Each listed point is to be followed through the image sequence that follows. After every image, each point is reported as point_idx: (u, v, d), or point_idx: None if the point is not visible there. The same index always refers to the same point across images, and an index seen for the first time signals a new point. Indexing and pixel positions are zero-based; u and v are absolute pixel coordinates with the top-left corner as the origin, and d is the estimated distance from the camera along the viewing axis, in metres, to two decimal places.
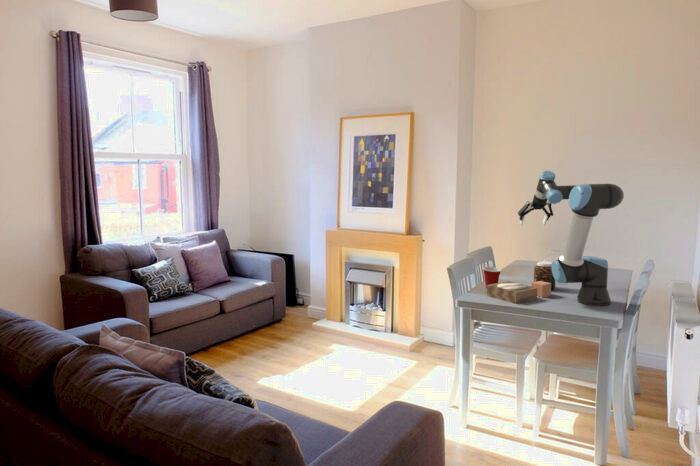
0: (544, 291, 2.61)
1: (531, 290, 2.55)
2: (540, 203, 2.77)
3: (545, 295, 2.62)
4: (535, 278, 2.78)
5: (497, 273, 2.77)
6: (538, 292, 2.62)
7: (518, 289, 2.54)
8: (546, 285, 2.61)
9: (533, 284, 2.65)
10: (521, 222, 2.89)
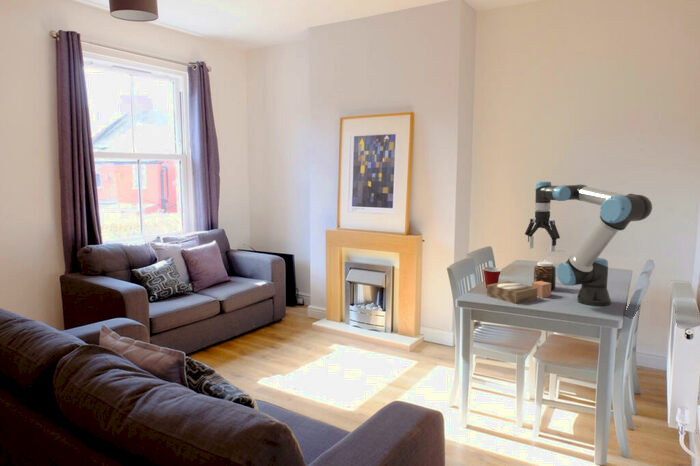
0: (544, 291, 2.61)
1: (531, 290, 2.55)
2: (536, 216, 2.60)
3: (545, 295, 2.62)
4: (535, 278, 2.78)
5: (497, 273, 2.77)
6: (538, 292, 2.62)
7: (518, 289, 2.54)
8: (546, 285, 2.61)
9: (533, 284, 2.65)
10: (529, 244, 2.69)
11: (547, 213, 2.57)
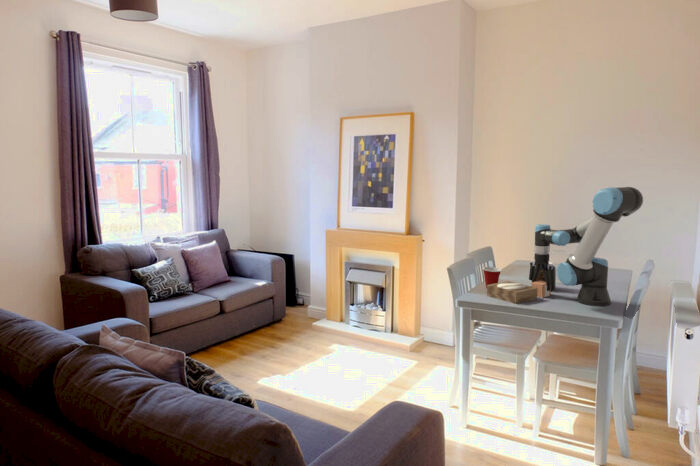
0: (544, 291, 2.61)
1: (531, 290, 2.55)
2: (535, 258, 2.62)
3: None
4: None
5: (497, 273, 2.77)
6: (538, 292, 2.62)
7: (518, 289, 2.54)
8: None
9: (533, 284, 2.65)
10: None
11: (546, 256, 2.59)
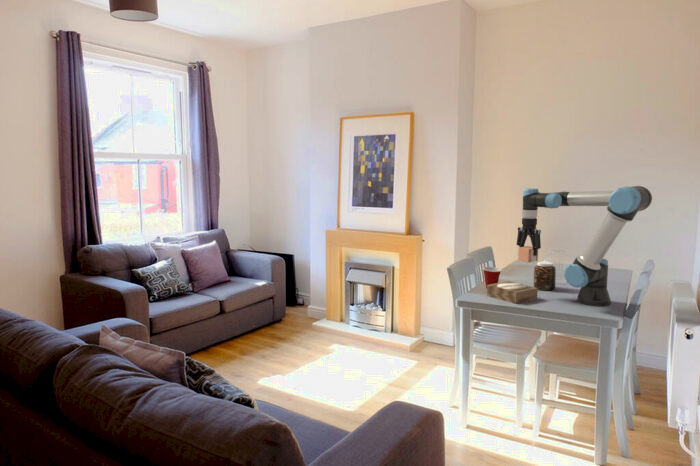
0: (530, 255, 2.58)
1: (531, 290, 2.55)
2: (523, 223, 2.59)
3: None
4: (535, 278, 2.78)
5: (497, 273, 2.77)
6: (524, 257, 2.60)
7: (518, 289, 2.54)
8: None
9: (520, 249, 2.62)
10: None
11: (533, 220, 2.56)
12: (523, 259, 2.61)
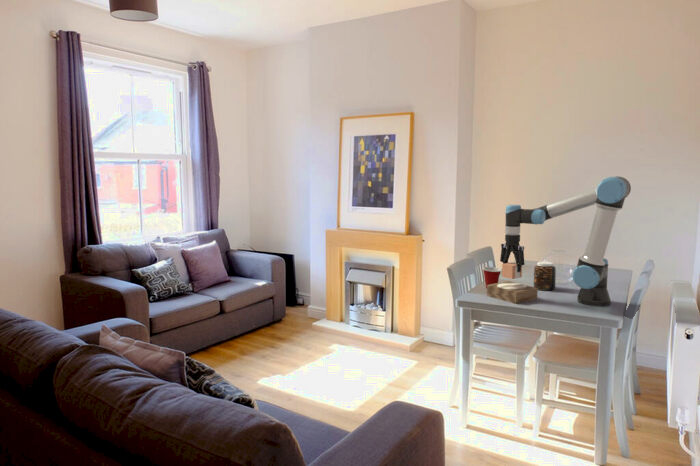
0: (514, 272, 2.57)
1: (531, 290, 2.55)
2: (506, 239, 2.58)
3: None
4: (535, 278, 2.78)
5: (497, 273, 2.77)
6: (508, 273, 2.58)
7: (518, 289, 2.54)
8: None
9: (504, 265, 2.61)
10: None
11: (517, 237, 2.55)
12: (507, 276, 2.59)
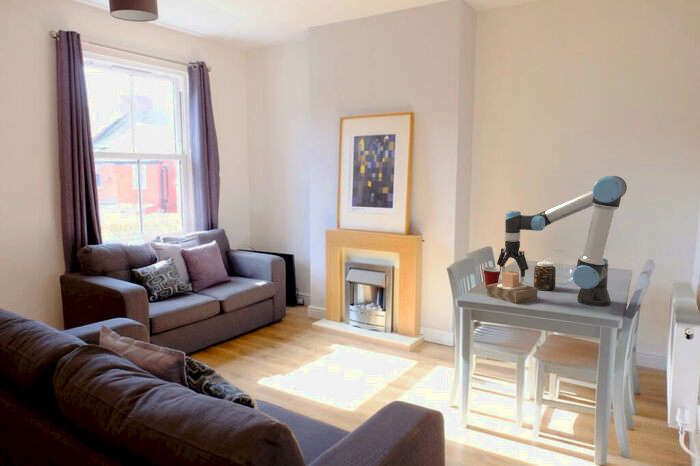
0: (514, 281, 2.57)
1: (531, 290, 2.55)
2: (506, 245, 2.58)
3: (516, 285, 2.58)
4: (535, 278, 2.78)
5: (497, 273, 2.77)
6: (509, 282, 2.59)
7: (518, 289, 2.54)
8: (517, 275, 2.58)
9: (504, 274, 2.61)
10: (501, 274, 2.66)
11: (517, 243, 2.55)
12: (507, 285, 2.60)
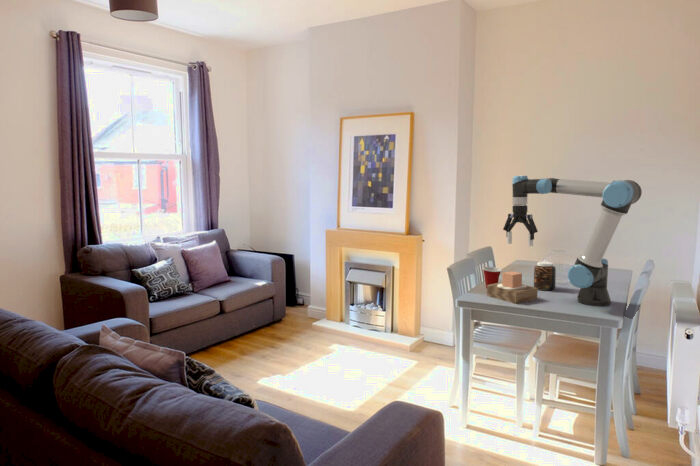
0: (514, 281, 2.57)
1: (531, 290, 2.55)
2: (514, 210, 2.58)
3: (516, 285, 2.58)
4: (535, 278, 2.78)
5: (497, 273, 2.77)
6: (509, 282, 2.59)
7: (518, 289, 2.54)
8: (517, 275, 2.58)
9: (504, 274, 2.61)
10: (507, 239, 2.66)
11: (524, 207, 2.55)
12: (507, 285, 2.60)
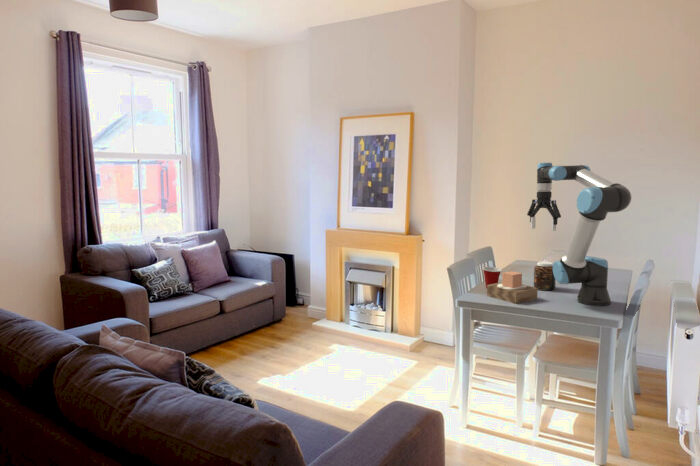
0: (514, 281, 2.57)
1: (531, 290, 2.55)
2: (538, 196, 2.67)
3: (516, 285, 2.58)
4: (535, 278, 2.78)
5: (497, 273, 2.77)
6: (509, 282, 2.59)
7: (518, 289, 2.54)
8: (517, 275, 2.58)
9: (504, 274, 2.61)
10: (531, 224, 2.75)
11: (548, 193, 2.64)
12: (507, 285, 2.60)
